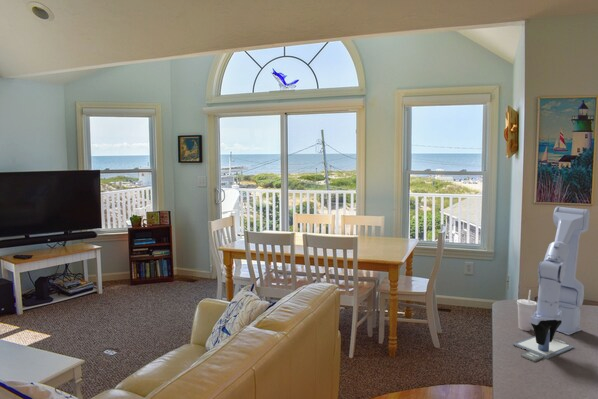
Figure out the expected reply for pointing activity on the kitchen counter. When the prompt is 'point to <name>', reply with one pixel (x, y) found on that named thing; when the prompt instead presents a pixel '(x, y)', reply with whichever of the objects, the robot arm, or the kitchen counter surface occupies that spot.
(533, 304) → the smoothie
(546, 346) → the blue bottle
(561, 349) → the clipboard
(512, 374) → the kitchen counter surface
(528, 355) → the word card
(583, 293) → the robot arm
